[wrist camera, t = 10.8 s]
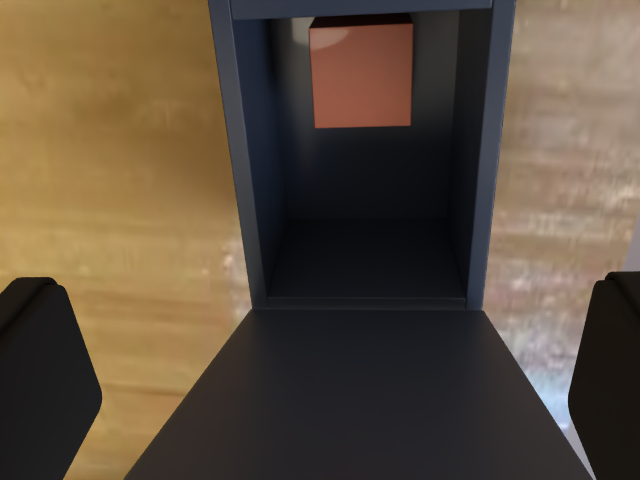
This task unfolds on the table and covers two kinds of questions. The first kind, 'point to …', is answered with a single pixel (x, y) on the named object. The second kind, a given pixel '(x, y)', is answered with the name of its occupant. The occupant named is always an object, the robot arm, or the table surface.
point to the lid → (361, 404)
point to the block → (361, 70)
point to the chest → (365, 159)
